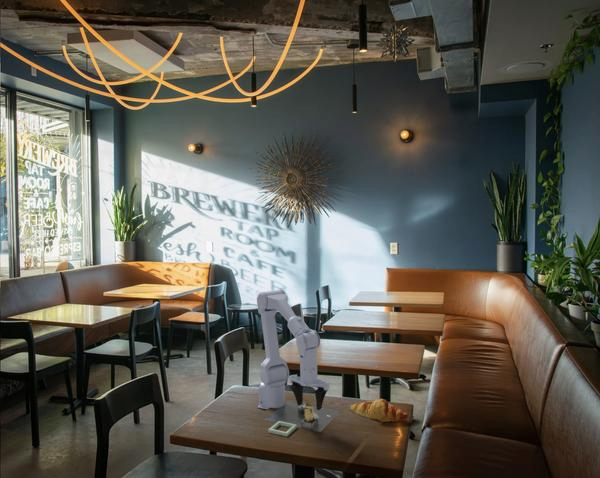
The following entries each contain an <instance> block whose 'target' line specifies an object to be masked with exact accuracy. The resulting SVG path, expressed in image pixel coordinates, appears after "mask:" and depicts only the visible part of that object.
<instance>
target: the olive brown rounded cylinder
mask: <svg viewBox="0 0 600 478" xmlns="http://www.w3.org/2000/svg"><path fill="white" fill-rule="evenodd" d="M312 406H313V405H312ZM312 406H306V407H305V422H309V423H313V407H312Z"/></svg>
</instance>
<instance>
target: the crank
mask: <svg viewBox="0 0 600 478" xmlns="http://www.w3.org/2000/svg"><path fill="white" fill-rule="evenodd" d="M311 405H312V404H310V403H309V402H303V403H302V404H301V405H300V406H298V412H305V407H306V406H311ZM313 419H319V416H318V415H317V414H315V413H314V412H313Z"/></svg>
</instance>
